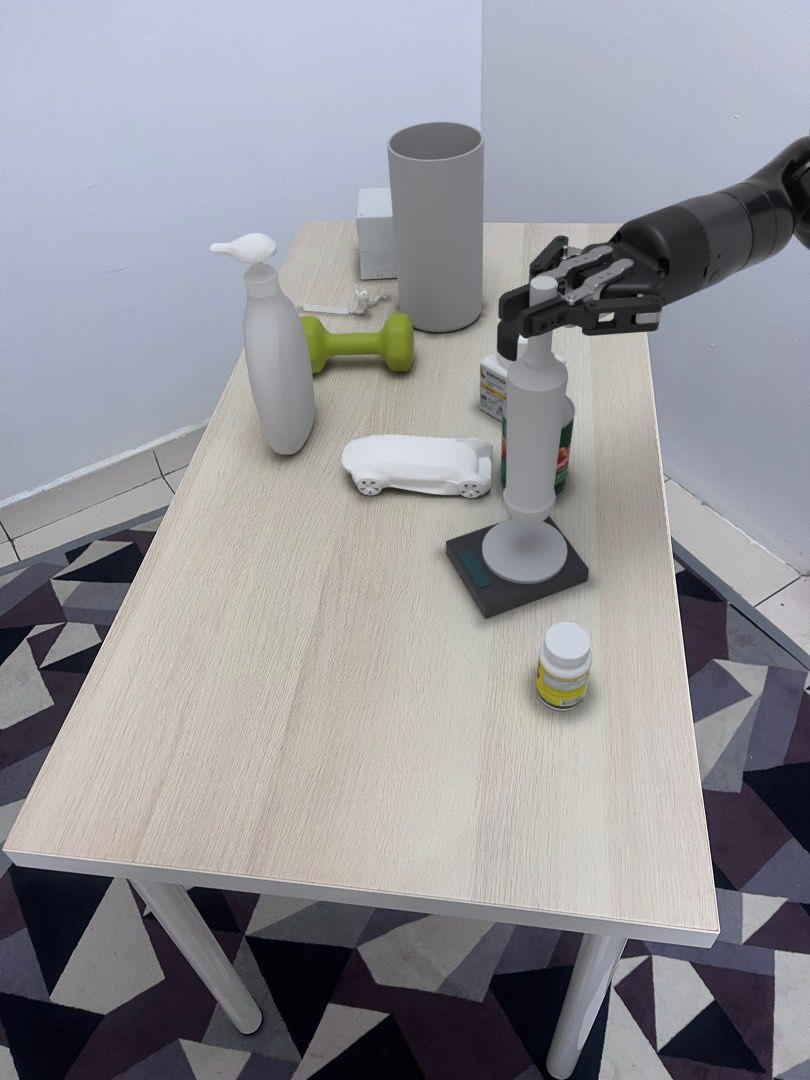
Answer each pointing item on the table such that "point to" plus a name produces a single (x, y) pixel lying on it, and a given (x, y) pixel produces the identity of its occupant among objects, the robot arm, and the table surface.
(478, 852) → the table surface
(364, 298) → the action figure
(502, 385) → the container
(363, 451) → the toy car
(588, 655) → the supplement bottle
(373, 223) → the cosmetics box
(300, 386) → the soap bottle
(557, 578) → the scale
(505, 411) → the canned tomato
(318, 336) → the dumbbell
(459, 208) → the cylinder vase
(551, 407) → the bottle
